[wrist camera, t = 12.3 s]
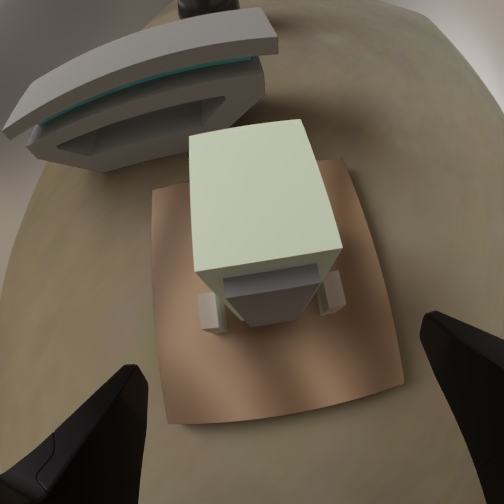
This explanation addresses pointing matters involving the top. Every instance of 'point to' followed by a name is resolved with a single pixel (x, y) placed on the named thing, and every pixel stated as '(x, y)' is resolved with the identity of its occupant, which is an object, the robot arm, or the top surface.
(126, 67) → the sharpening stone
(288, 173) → the pale panelled upright block
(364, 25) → the top surface
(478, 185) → the top surface
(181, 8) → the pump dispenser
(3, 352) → the top surface
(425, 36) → the top surface
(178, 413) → the tan board with pegs
